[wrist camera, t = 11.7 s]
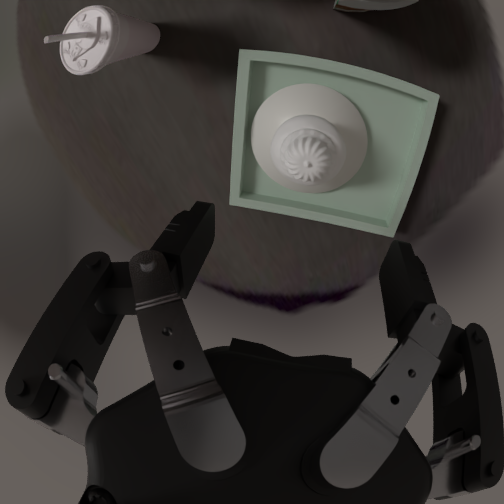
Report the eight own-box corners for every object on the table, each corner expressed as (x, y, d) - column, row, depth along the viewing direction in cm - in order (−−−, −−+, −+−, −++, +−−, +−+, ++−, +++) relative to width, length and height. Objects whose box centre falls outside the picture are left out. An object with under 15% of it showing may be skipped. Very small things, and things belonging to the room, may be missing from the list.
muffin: (339, 107, 21) (349, 122, 16) (343, 169, 25) (351, 203, 19) (271, 111, 23) (256, 127, 17) (280, 171, 26) (269, 205, 21)
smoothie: (183, 32, 20) (86, 27, 9) (144, 75, 23) (45, 103, 13) (147, 2, 18) (46, -7, 7) (112, 44, 21) (12, 62, 10)
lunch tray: (245, 50, 21) (239, 49, 19) (429, 92, 19) (439, 95, 17) (235, 194, 31) (229, 204, 29) (388, 225, 29) (393, 237, 27)
